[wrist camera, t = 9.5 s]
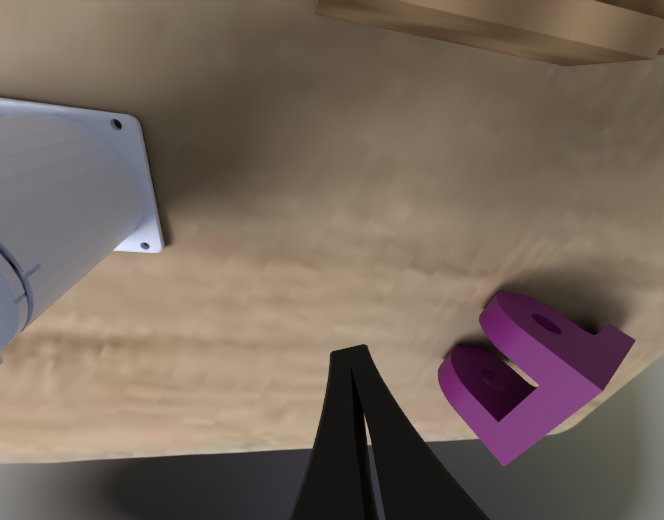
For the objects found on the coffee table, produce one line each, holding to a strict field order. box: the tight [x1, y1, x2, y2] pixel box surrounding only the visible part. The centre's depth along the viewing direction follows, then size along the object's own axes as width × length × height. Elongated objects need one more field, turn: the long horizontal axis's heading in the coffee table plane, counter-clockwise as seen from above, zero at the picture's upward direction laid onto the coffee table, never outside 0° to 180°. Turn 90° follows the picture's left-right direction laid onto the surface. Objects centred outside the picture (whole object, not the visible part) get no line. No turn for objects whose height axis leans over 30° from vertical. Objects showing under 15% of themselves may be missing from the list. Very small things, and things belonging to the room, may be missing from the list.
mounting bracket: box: [438, 291, 636, 466], centre depth 26 cm, size 9×8×18 cm
